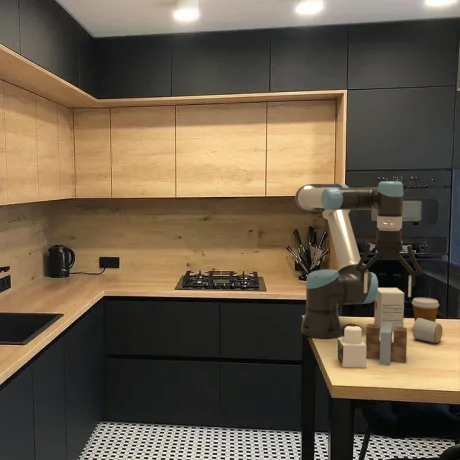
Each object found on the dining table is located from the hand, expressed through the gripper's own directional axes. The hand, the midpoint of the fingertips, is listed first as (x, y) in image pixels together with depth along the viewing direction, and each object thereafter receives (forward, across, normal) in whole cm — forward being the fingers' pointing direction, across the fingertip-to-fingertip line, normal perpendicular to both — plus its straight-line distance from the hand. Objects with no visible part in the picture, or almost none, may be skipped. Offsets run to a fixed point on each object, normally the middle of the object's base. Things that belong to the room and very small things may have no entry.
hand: (387, 294), depth 147 cm
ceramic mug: (+20, +13, +19) cm, 30 cm away
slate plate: (+19, +1, -6) cm, 20 cm away
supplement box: (+20, -1, +29) cm, 35 cm away
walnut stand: (+19, +1, -6) cm, 20 cm away
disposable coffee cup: (+20, +12, +29) cm, 37 cm away
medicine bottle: (+19, -9, -15) cm, 26 cm away
